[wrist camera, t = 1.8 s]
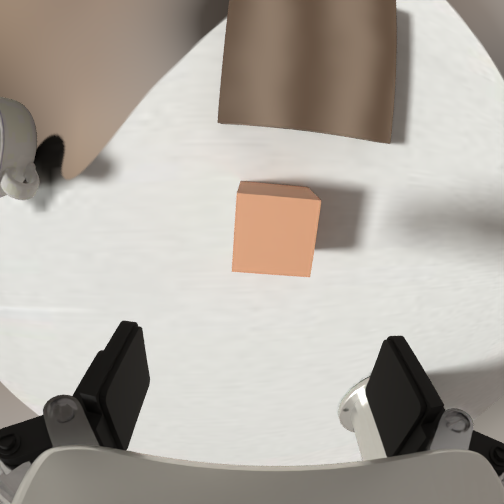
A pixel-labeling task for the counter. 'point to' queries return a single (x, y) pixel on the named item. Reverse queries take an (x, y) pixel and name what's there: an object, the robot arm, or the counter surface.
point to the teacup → (17, 151)
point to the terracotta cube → (275, 229)
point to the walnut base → (311, 66)
